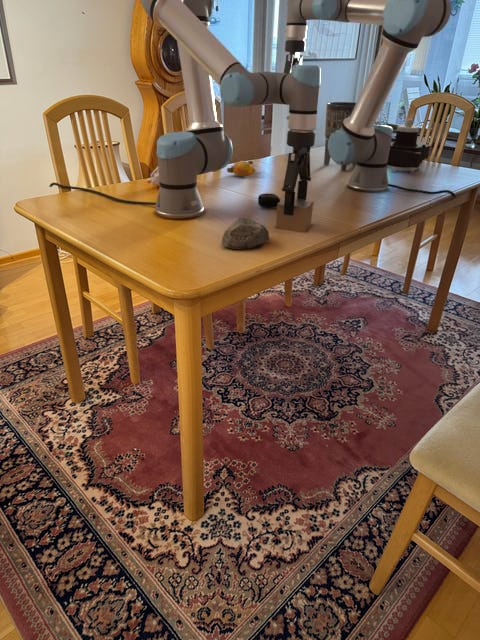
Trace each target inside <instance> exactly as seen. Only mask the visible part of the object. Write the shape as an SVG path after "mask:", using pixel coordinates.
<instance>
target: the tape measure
mask: <svg viewBox="0 0 480 640" xmlns="http://www.w3.org/2000/svg"><path fill="white" fill-rule="evenodd" d="M280 201H281V198H280V197H279V196H278V195H277V194H276V193H269V192H268V193H267V192H265V193H261V194H259V195H258V199H257V205H258V206H259V207H260V208H261V207H262V208H266V209H270V208H277V204H278V203H279V202H280Z"/></svg>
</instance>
